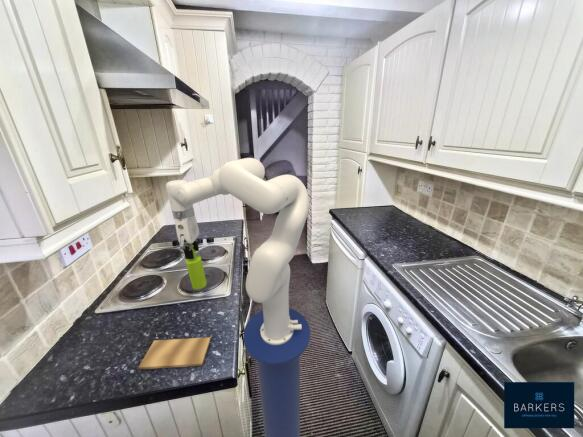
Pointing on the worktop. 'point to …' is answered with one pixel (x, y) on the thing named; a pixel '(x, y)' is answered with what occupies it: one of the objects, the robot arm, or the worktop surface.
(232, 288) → the worktop surface
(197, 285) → the soap dispenser
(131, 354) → the worktop surface
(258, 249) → the robot arm
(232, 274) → the worktop surface
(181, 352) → the chopping board
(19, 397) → the worktop surface
